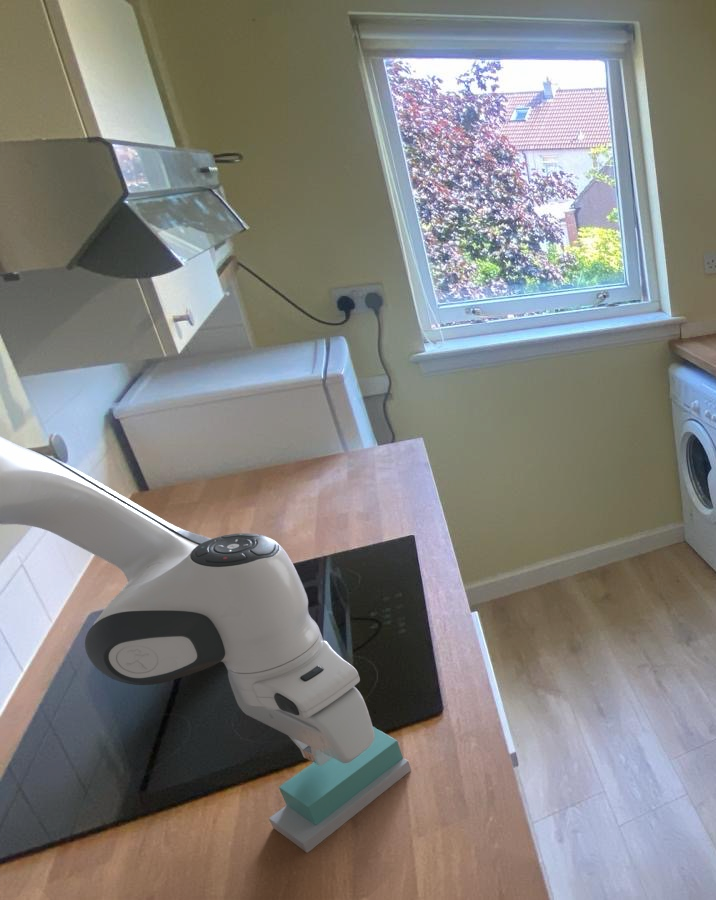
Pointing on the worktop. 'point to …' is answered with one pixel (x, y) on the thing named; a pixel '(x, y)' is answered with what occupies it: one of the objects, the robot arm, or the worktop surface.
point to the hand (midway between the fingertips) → (319, 757)
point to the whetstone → (337, 791)
